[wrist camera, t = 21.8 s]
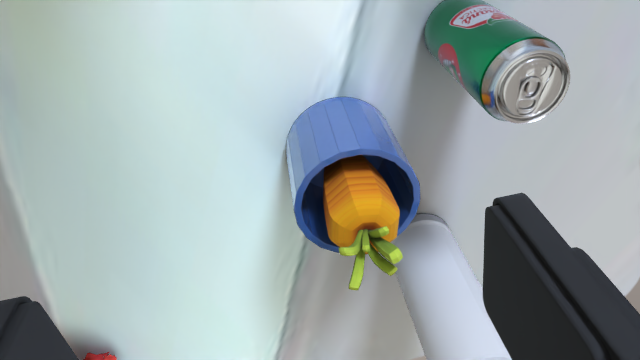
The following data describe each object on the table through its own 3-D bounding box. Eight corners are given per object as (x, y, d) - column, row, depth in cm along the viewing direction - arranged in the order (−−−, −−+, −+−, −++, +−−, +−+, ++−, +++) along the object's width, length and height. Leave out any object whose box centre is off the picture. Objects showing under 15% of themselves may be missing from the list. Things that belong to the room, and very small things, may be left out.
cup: (276, 108, 39) (282, 164, 32) (385, 86, 39) (416, 136, 32) (296, 198, 44) (306, 263, 37) (394, 178, 44) (423, 239, 37)
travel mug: (375, 260, 49) (442, 468, 32) (399, 207, 46) (487, 407, 29) (432, 269, 50) (524, 470, 34) (459, 217, 47) (575, 413, 30)
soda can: (495, -7, 36) (591, 43, 26) (479, 61, 39) (560, 130, 29) (428, -10, 35) (500, 41, 25) (416, 59, 38) (477, 130, 28)
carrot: (322, 182, 42) (354, 317, 30) (300, 135, 40) (324, 261, 27) (376, 160, 42) (432, 288, 29) (357, 111, 39) (410, 229, 27)
